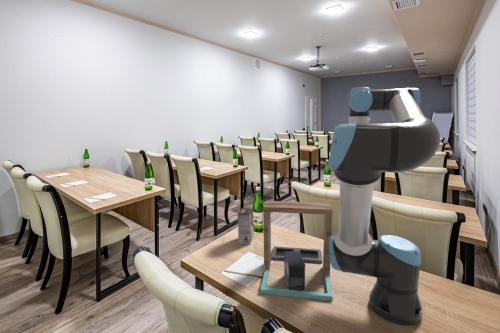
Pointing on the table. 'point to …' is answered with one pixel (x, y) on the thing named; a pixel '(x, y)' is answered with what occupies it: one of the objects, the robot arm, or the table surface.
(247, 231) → the coffee box
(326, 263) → the tunnel
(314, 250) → the pit plate
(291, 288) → the small box
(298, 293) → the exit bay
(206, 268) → the table surface
